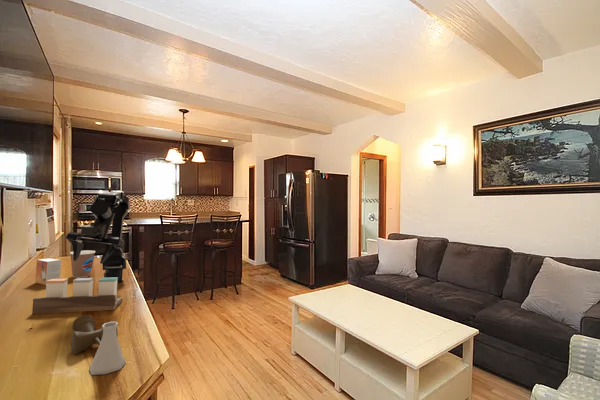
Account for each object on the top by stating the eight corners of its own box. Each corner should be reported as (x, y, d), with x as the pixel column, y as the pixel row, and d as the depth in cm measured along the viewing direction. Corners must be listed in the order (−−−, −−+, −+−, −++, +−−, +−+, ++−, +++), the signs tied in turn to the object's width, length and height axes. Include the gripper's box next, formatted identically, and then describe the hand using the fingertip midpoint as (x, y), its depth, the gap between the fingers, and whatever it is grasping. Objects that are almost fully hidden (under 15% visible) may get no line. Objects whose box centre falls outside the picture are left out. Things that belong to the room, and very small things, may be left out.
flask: (85, 379, 63) (88, 333, 63) (91, 362, 69) (94, 320, 69) (124, 371, 66) (126, 327, 66) (126, 356, 72) (129, 316, 73)
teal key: (100, 299, 107) (102, 277, 107) (116, 298, 109) (117, 277, 109) (97, 301, 104) (98, 279, 104) (113, 301, 105) (115, 279, 106)
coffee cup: (83, 279, 139) (85, 254, 139) (62, 278, 139) (64, 253, 139) (98, 274, 149) (100, 250, 149) (79, 273, 149) (80, 250, 149)
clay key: (49, 301, 103) (51, 278, 103) (66, 300, 104) (68, 278, 104) (44, 304, 100) (45, 281, 100) (62, 303, 101) (63, 280, 101)
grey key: (75, 300, 105) (77, 278, 105) (92, 299, 106) (93, 277, 106) (71, 303, 102) (73, 280, 102) (88, 302, 103) (89, 280, 103)
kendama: (101, 328, 89) (122, 350, 75) (61, 338, 81) (77, 365, 68) (101, 308, 89) (123, 327, 75) (61, 317, 82) (77, 339, 68)
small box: (34, 283, 129) (36, 259, 129) (49, 280, 134) (51, 257, 134) (45, 285, 126) (46, 261, 126) (60, 282, 131) (61, 259, 131)
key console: (46, 305, 104) (47, 291, 104) (121, 301, 110) (122, 288, 110) (32, 314, 95) (33, 298, 95) (114, 309, 102) (114, 295, 102)
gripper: (65, 212, 105) (47, 254, 99) (119, 219, 108) (104, 260, 101) (81, 222, 115) (65, 261, 109) (130, 228, 118) (117, 266, 111)
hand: (87, 262), depth 107 cm, fingers open, 9 cm apart
